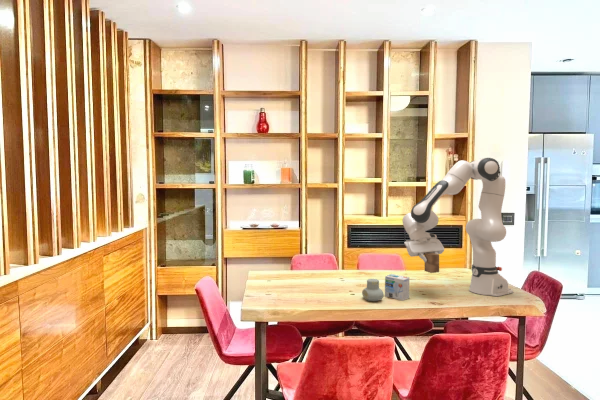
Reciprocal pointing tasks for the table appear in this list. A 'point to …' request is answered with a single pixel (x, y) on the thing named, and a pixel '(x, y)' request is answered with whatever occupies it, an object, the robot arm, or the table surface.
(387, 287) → the light bulb box
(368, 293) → the air freshener
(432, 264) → the walnut block
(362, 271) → the table surface
